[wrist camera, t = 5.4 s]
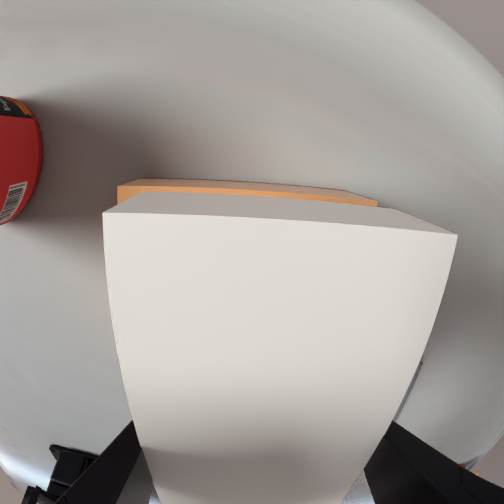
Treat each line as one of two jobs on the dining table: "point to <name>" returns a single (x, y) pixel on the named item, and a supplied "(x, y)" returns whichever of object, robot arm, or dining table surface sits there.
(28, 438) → the dining table surface
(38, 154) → the canned food
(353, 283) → the cover board
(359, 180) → the dining table surface
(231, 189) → the dish
